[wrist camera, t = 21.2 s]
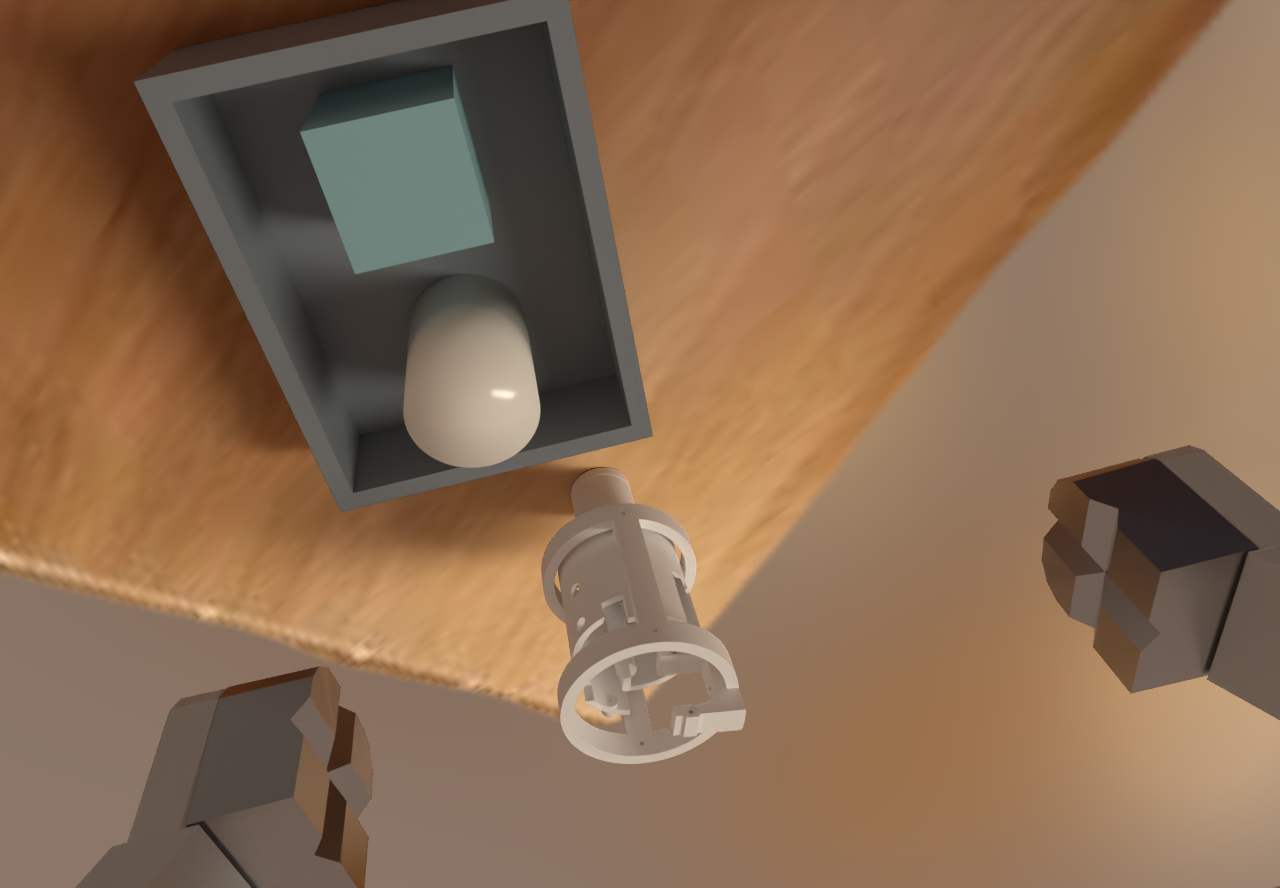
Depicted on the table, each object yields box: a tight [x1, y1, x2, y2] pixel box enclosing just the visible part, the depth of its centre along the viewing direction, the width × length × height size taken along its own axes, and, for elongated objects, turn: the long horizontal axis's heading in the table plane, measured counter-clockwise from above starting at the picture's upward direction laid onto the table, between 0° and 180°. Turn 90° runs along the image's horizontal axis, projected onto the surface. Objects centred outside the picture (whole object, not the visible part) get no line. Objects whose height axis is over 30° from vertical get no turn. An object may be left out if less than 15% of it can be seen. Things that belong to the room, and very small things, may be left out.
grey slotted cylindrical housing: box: [541, 468, 746, 764], centre depth 40 cm, size 7×7×15 cm
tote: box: [134, 0, 653, 512], centre depth 35 cm, size 18×14×5 cm
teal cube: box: [300, 65, 494, 274], centre depth 32 cm, size 5×5×5 cm
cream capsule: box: [403, 274, 540, 468], centre depth 36 cm, size 5×5×7 cm
